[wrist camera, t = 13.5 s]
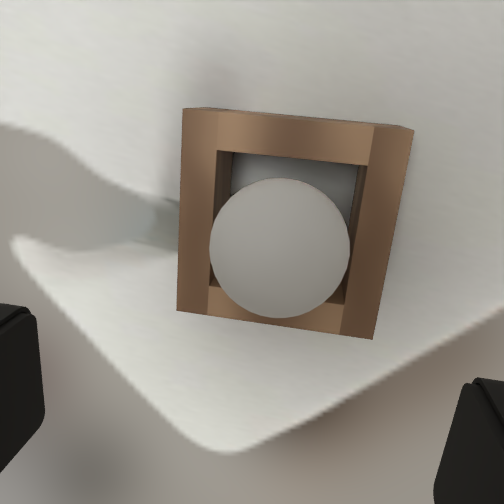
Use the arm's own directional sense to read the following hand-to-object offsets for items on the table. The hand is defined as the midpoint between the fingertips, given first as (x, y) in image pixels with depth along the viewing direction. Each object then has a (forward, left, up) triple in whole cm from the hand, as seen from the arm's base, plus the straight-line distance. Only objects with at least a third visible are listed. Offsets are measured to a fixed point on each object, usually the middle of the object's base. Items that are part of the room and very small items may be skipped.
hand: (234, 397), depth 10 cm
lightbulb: (0, 0, -19) cm, 19 cm away
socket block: (0, 0, -19) cm, 19 cm away
